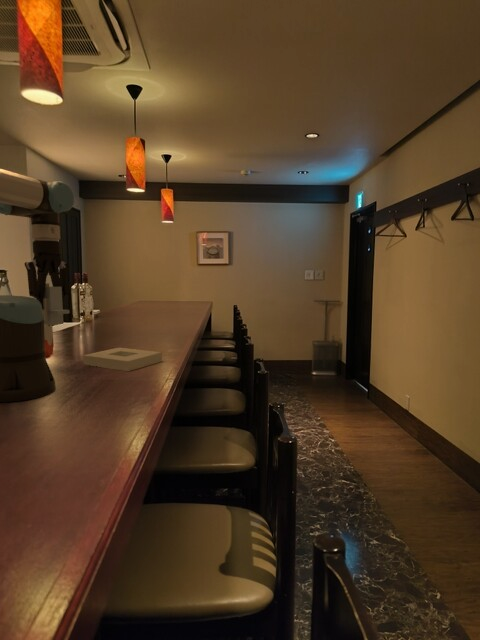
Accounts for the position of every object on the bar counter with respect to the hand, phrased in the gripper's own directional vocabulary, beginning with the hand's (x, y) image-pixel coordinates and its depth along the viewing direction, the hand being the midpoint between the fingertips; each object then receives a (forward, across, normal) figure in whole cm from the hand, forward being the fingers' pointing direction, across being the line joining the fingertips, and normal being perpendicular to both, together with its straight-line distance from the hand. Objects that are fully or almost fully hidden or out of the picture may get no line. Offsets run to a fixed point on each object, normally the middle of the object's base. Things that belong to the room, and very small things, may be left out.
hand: (50, 319), depth 126 cm
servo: (+1, 0, 0) cm, 1 cm away
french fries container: (+15, +11, +20) cm, 28 cm away
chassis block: (+15, +15, -14) cm, 25 cm away
